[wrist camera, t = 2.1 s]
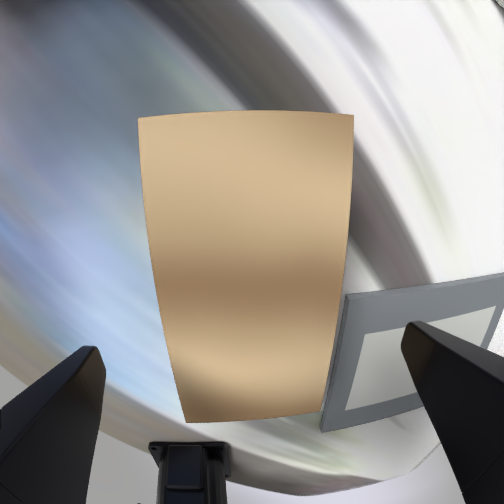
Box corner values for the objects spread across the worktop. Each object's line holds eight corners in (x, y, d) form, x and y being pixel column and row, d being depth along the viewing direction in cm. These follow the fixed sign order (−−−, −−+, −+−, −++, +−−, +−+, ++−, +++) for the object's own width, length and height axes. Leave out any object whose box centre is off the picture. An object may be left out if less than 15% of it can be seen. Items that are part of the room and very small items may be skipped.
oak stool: (293, 334, 18) (320, 411, 13) (191, 341, 18) (186, 423, 12) (300, 119, 14) (353, 115, 8) (170, 122, 13) (138, 118, 7)
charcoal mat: (463, 386, 24) (466, 389, 23) (319, 427, 22) (321, 433, 22) (510, 271, 19) (514, 274, 18) (345, 294, 17) (349, 299, 17)
